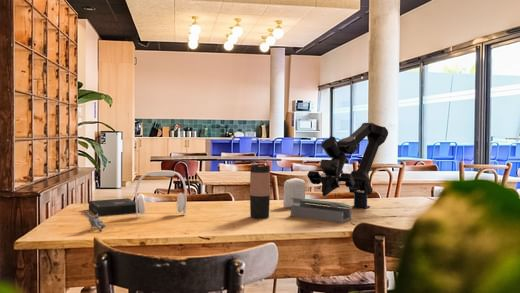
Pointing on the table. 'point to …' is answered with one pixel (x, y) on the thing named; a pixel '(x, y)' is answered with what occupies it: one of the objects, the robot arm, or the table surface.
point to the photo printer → (293, 191)
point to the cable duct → (321, 212)
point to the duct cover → (321, 203)
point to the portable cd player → (112, 207)
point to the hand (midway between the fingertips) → (323, 195)
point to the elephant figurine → (95, 221)
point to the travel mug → (259, 191)
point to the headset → (181, 197)
